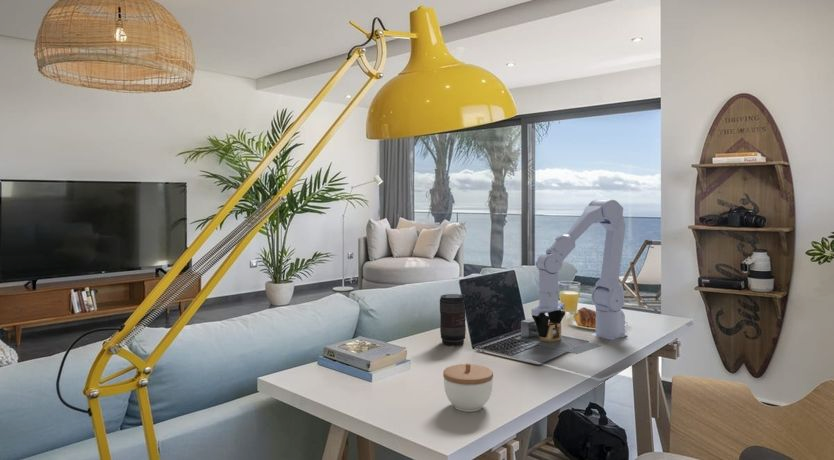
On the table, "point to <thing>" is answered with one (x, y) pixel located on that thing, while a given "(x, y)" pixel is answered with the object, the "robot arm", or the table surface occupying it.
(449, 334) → the camera lens
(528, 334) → the shaft assembly
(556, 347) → the mat
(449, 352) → the table surface
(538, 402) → the table surface
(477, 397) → the lidded jar
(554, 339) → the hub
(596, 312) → the robot arm
